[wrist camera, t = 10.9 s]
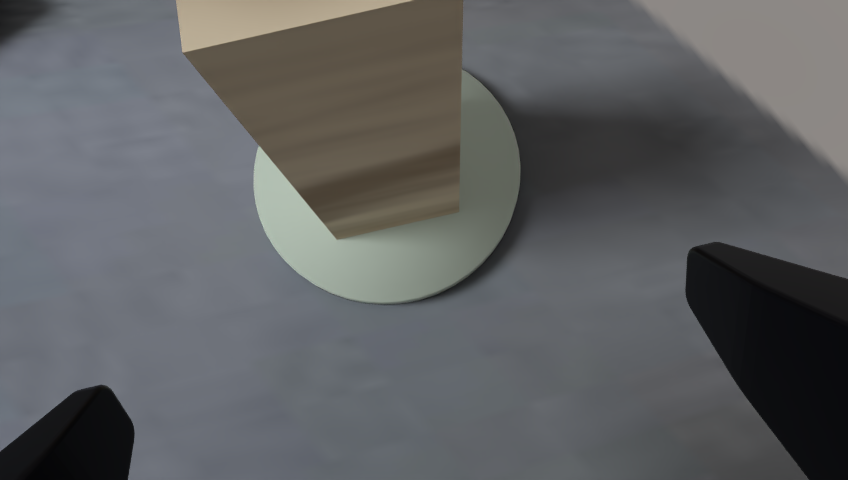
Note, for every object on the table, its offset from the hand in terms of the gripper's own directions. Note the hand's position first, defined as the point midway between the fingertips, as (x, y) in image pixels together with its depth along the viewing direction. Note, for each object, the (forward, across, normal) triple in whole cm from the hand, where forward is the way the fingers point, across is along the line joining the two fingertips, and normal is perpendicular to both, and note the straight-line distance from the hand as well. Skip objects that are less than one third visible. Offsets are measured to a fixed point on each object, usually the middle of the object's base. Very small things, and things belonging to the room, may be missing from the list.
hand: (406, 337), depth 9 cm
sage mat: (+15, 0, +4) cm, 16 cm away
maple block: (+15, 0, +3) cm, 15 cm away
